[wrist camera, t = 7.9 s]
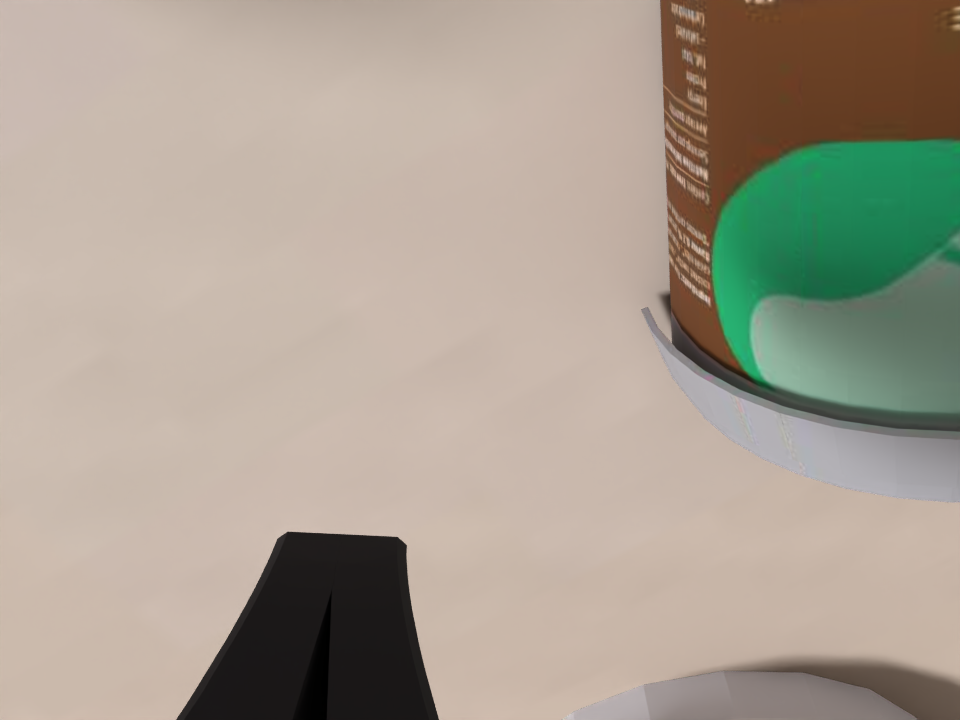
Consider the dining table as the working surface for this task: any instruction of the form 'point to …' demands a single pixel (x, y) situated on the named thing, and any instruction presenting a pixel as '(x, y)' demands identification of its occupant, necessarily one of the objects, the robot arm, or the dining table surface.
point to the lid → (745, 700)
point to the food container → (818, 234)
